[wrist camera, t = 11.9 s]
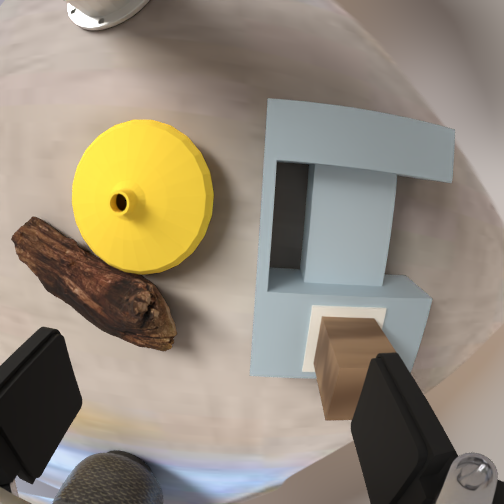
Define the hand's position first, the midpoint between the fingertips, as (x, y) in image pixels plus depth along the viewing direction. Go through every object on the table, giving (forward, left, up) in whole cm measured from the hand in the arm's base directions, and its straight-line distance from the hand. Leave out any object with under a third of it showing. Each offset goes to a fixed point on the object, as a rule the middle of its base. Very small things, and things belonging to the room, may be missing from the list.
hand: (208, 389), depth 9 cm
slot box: (+1, +10, -26) cm, 27 cm away
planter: (+44, -19, -26) cm, 54 cm away
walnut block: (+9, +9, -18) cm, 22 cm away
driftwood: (+6, -17, -26) cm, 32 cm away
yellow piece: (-3, -11, -26) cm, 28 cm away
